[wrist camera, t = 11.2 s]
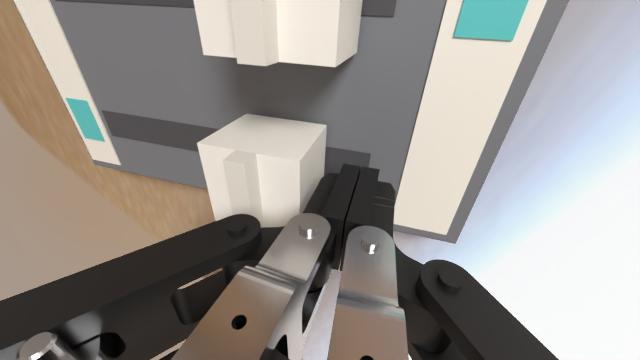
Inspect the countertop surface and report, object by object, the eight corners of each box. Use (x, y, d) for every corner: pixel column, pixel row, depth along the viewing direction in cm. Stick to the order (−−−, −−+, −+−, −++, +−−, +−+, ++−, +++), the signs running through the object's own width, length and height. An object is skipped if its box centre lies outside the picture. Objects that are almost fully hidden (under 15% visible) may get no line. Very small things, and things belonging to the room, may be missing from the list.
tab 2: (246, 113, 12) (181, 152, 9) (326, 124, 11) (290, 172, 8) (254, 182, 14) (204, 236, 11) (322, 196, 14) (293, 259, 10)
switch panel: (9, -110, 12) (-58, -131, 11) (606, -154, 7) (670, -210, 6) (120, 152, 20) (92, 165, 18) (449, 219, 15) (455, 245, 13)
